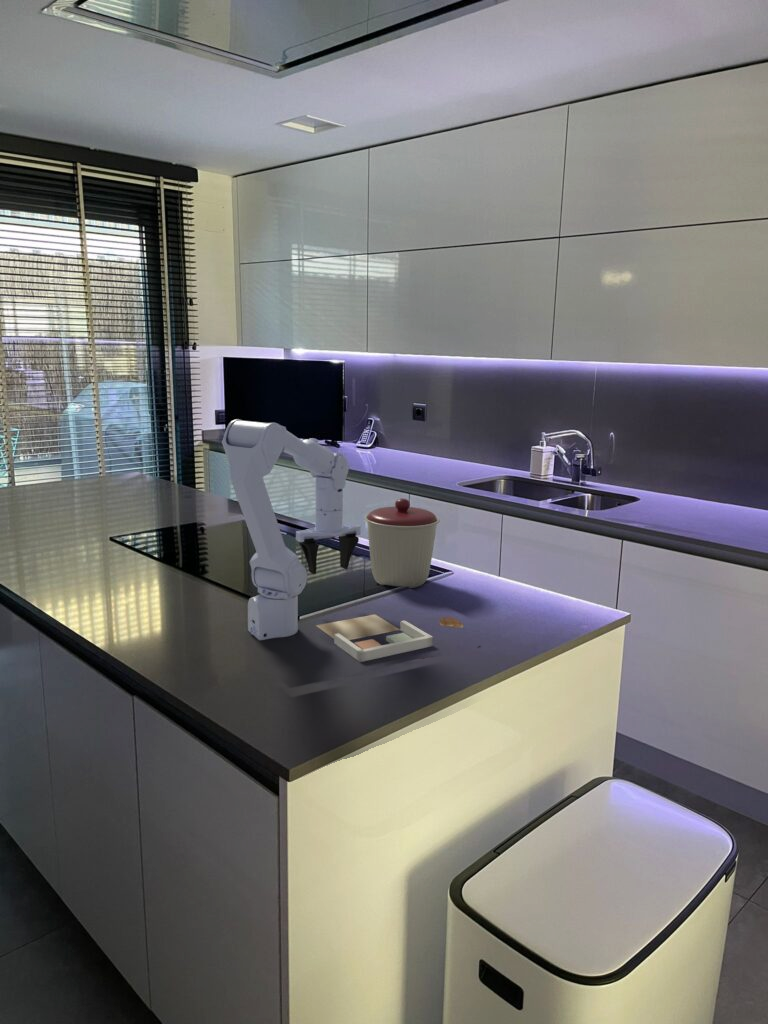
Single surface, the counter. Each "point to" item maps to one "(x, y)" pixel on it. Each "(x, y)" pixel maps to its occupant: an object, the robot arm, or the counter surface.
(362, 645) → the terracotta tile
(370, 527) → the canister
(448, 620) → the shard
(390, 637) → the sage tile
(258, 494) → the robot arm
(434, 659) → the counter surface
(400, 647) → the tray
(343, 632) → the maple board
